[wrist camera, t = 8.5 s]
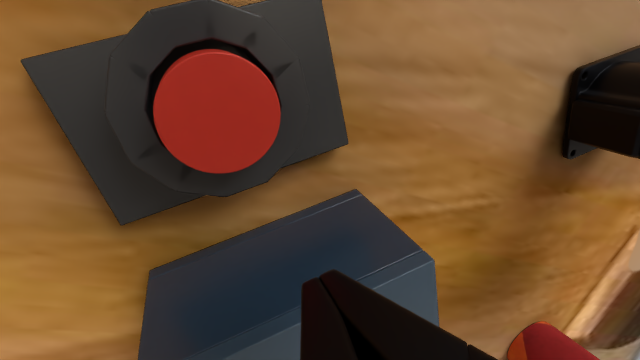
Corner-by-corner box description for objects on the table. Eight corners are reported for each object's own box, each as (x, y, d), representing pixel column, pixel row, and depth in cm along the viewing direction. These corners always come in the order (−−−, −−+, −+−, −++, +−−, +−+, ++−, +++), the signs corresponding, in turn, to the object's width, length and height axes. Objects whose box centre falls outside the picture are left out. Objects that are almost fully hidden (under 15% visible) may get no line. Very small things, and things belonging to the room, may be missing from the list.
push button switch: (309, -23, 14) (337, -34, 12) (341, 138, 18) (368, 157, 15) (22, 44, 12) (-22, 49, 9) (123, 215, 15) (112, 252, 13)
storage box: (227, 399, 22) (242, 517, 17) (148, 269, 17) (133, 383, 11) (381, 322, 25) (437, 403, 19) (356, 188, 19) (423, 249, 14)
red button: (251, 36, 12) (261, 37, 11) (281, 139, 14) (293, 152, 12) (135, 66, 11) (128, 72, 10) (183, 171, 13) (184, 190, 12)
